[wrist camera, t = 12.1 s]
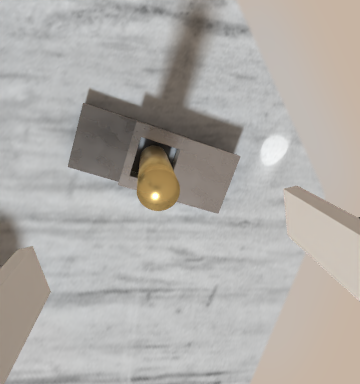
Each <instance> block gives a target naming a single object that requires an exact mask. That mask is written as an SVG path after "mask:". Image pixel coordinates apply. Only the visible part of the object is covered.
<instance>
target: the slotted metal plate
mask: <svg viewBox="0 0 360 384" xmlns="http://www.w3.org/2000/svg"><path fill="white" fill-rule="evenodd" d="M141 137H143V138H147V139H150V140H153V141H156V142H159V143H162V144H165V145H168V146H171V147H174V148H177V151H176V154H175V157H174V160H173V163H172V168H173V171H174V173H175V175H176V177H177V180H178V182H179V185H180V195H179V198H178V200H177V201H176V202H179V203H183V204H186V205H190V206H193V207H197V208H200V209H204V210H207V211H211V212H214V213H219V210H220V208H221V205H222V203H223V200H224V197H225V195H226V192H227V190H228V187H229V185H230V182H231V179H232V177H233V174H234V172H235V169H236V167H237V164H238V161H239V159H240V156H239V155H237V154H234V153H231V152H228V151H225V150H222V149H219V148H216V147H213V146H210V145H207V144H204V143H201V142H198V141H195V140H192V139H190V138H188V137H185V136H182V135H179V134H176V133H173V132H170V131H167V130H164V129H161V128H158V127H155V126H152V125H149V124H146V123H143V122H140V121H137V120H134V119H131V118H128V117H125V116H123V115H120V114H117V113H114V112H111V111H108V110H105V109H102V108H99V107H96V106H93V105H90V104H87V103H83V106H82V110H81V114H80V119H79V123H78V127H77V131H76V135H75V139H74V143H73V147H72V151H71V155H70V160H69V164H68V167H70V168H73V169H77V170H80V171H84V172H87V173H90V174H94V175H97V176H101V177H104V178H108V179H111V180H115V181H118V182H119V183H118V185H120V186H124V187H127V188H131V189H134V190H137V182H138V173H137V172H133V171H131V169H132V165H133V162H134V159H135V155H136V152H137V149H138V145H139V142H140V139H141Z"/></svg>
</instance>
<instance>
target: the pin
mask: <svg viewBox="0 0 360 384" xmlns="http://www.w3.org/2000/svg"><path fill="white" fill-rule="evenodd" d="M179 195H180V185H179V182H178V180H177V177H176V175H175V173H174V171H173V168H172V166H171V164H170V161H169V159H168V157H167V154H166V152H165V151H164V150H163V149H162V148H161V147H159V146H155V145H153V146H148V147H147V148H145V149H144V150H143V151H142V153H141V156H140V164H139V173H138V182H137V196H138V198H139V200H140V202H141V203H142V204H143V205H144V206H145V207H146V208H148V209H151V210H154V211H162V210H166V209H168V208H170V207H171V206H173V205H174V204H175V203H176V201H177V200H178V198H179Z"/></svg>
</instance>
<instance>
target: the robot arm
mask: <svg viewBox="0 0 360 384" xmlns="http://www.w3.org/2000/svg"><path fill="white" fill-rule="evenodd" d="M283 191H284V202H285V213H286V224H287V235H288V237H290V238H291V239H292V240H293V241H294V242H295V243H296V244H297V245H298V246H299V247H301V248H302V249H303V250H304V251H305V252H306V253H307V254H308V255H309V256H310V257H311V258H313V259H314V260H315V261H316V262H317V263H318V264H319V265H320V266H321V267H322V268H324V269H325V270H326V271H327V272H328V273H329V274H330V275H331V276H332V277H333V278H334V279H336V280H337V281H338V282H339V283H340V284H341V285H342V286H343V287H345V289H346V290H348V291H349V292H350V293H351V294H352V295H353V296H354V297H355V298H356V299H357V300H358V301H360V217H359V218H357V217H355V216H354V215H352V214H349V213H348V212H346V211H344V210H342V209H340V208H338V207H336V206H335V205H333V204H331V203H329V202H327V201H325V200H323V199H321V198H319V197H318V196H316V195H314V194H312V193H310V192H308V191H306V190H304V189H302V188H301V187H299V186H294V187H290V188H285V189H283ZM50 292H51V291H50V289H49V286H48V284H47V281H46V279H45V276H44V274H43V271H42V269H41V266H40V264H39V261H38V259H37V256H36V253H35V251H34V248H33V246H31V247H27V248H23V249H18V250H17V251H16V252H15V253H14V254H13V255H12V256H11V257H10V258H9V260H8V261H7V262H6V263H5V264H4V265H3V266H2V267H1V269H0V384H4V383H5V381H6V379H7V377H8V375H9V373H10V371H11V369H12V367H13V365H14V363H15V361H16V359H17V357H18V355H19V353H20V351H21V349H22V347H23V346H24V344H25V342H26V340H27V338H28V336H29V334H30V332H31V330H32V328H33V326H34V324H35V322H36V320H37V318H38V316H39V314H40V312H41V310H42V308H43V306H44V304H45V302H46V300H47V298H48V296H49V294H50Z"/></svg>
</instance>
